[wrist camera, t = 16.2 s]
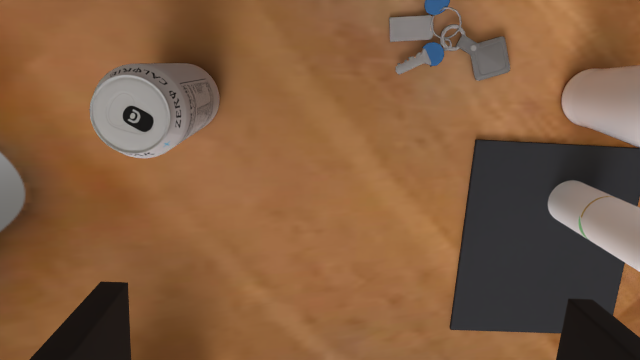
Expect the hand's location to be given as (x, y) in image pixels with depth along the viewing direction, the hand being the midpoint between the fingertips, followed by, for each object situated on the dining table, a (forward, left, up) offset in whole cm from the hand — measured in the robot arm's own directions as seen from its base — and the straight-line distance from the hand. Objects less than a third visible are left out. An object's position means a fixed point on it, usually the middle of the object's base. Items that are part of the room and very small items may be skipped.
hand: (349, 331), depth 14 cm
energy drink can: (-4, -12, -32) cm, 34 cm away
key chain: (-10, +10, -32) cm, 35 cm away
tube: (+4, +25, -31) cm, 40 cm away
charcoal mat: (+9, +24, -32) cm, 40 cm away
